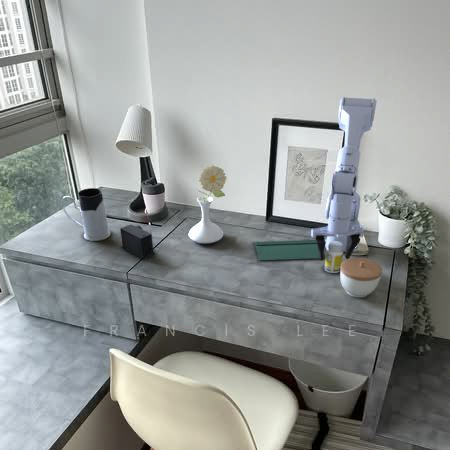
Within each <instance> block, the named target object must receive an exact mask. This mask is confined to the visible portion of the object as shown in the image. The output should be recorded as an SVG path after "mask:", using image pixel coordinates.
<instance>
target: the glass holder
mask: <svg viewBox="0 0 450 450" xmlns="http://www.w3.org/2000/svg"><path fill="white" fill-rule="evenodd" d="M77 196H78V202H79V206H77V203H76V200H75V199H74V198H73V197H72V196H70V195H65V196H63V197H62V198H61V201H60V203H61V204H60V205H61V208H62V210H63V212H64V214H65V215H66V216H67V217H68V218H69V220H71V221H73V222H74V223H76V224H77V225H78V226H80V227H81V228H82V229H83V231H84V234H83V238H84V239H85V240H87V241H90V242H99V241H103V240H106V239H108V238H109V237H110V236H111V231H110V229H109V225H108V218H107V217H108V216H107V212H106V205H105V200H104V196H103V190H101V189H100V188H96V187H89V188H84V189H81V190H79V191H78V192H77ZM65 198H68V199H70V200H71V201H72V202H73V205H74V208H75V209H76V210H80V211H79V212H80V215H81V216H80V217H81V222H82V224H81V223H80V222H79V221H77V220H76V219H74V218H73V217H71V215H69V213H68V212H67V211H66V208H65V206H64V201H63V200H64V199H65Z"/></svg>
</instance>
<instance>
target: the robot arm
mask: <svg viewBox="0 0 450 450" xmlns="http://www.w3.org/2000/svg"><path fill="white" fill-rule="evenodd" d="M376 107H377V99H376V98H374V97H373V98H362V97H361V98H360V97H345V96H343V97H342V98H340V101H339V107H338V117H337V118H338V125H339V127H338V128H339V129H340V130H341V131H343V132H344V146H343V147H341V148H340V149H339V150H338V154H337V160H336V165H335V171H334V172H333V173H332V177H331V183H330V192H329V194H328V197H327V200H326V207H325V212H324V218H326V219H327V220H328V221H327V225H326V226H323V227H318V228H317V227H316V228H311V230H310V231H311V232H310V236H311V238H312V239H314V240H316V242H317V246H318V250H319V258H320V259H319V261H324V259H323V257H324V258H325V256H324V253H325V249H326V250H327V249H328V245H329V242H331V241H338V242H341V243H342V244H343V248H342V250H343V253H344V257H345V260H346V259H349V258H351V256H352V254H353V252H358V251H359V250H358V247H357V248H355V247H356V246H357V245H358V246H359V244H360V242H361V237H364V235H365V229H364V228H363V227H362V226H361V224H360V221H359V214H360V207H361V195H360V194H359V193H358V192H357V188H358V182H359V181H358V180H359V165H360V159H361V158H360V157H361V151H360V146H361V141H362V138H363V136H364V133H367V132H369V131H371V130H372V127H373V123H374V120H375V113H376Z"/></svg>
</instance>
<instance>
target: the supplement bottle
mask: <svg viewBox="0 0 450 450" xmlns="http://www.w3.org/2000/svg"><path fill="white" fill-rule="evenodd" d="M342 248H343V244H342V243H341V242H338V241H331V242H329V245H328V249H326V251H325V258H324V270H325V272H327V273H329V274H330V273H331V274H337V273H340V271H341V264H342V262H343V257H344V252H343V250H342Z"/></svg>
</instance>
